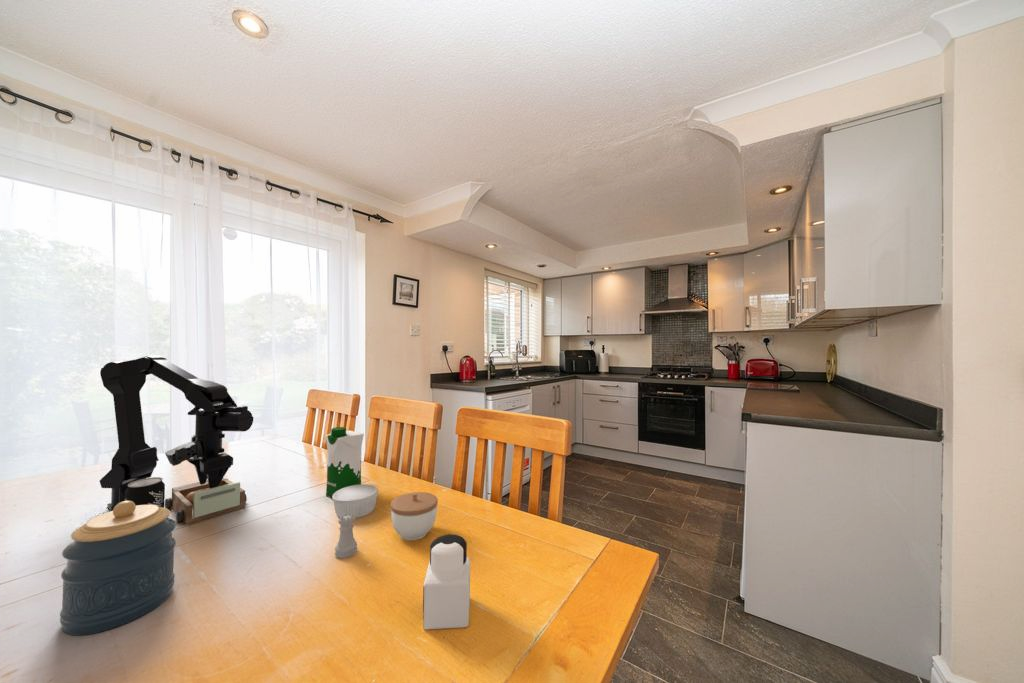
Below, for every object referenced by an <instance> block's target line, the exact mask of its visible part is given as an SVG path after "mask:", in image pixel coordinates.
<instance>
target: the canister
mask: <svg viewBox="0 0 1024 683" xmlns="http://www.w3.org/2000/svg"><path fill="white" fill-rule="evenodd" d="M170 515H171V511H170V509H169V508H168V509H166V508H165V507H164V508H162V507H159V506H157V505H137V506H135V503H134V502H133V501H123V502H120V503H118V504H117V505H116V506H115V507H114V509H113V511H110V510H109V511H107V512H104V513H101V514H99V515H97V516H95V517H93V518H90V519H89V520H87V521H86V523H84V524H83V525H81V526H79V527H78V528H76V529H75V530H74V531H72V532H71V540H73V541H72V542H70V543H69V544H68V545H67V546H65V547H64V549H63V550H62V552H61V555H62V557H63V558H64V559H65V560H67V562H66V566H65V567H64V568H63V570H62V572H61V573H60V574H61V576H60V578H61V579H62V598H61V599H62V604H61V605H62V606H61V607H62V608H61V610H60V613H59V616H60V618H59V622H60V624H61V627H62V628H61V629H62V631H63V633H66V634H69V635H73V636H75V635H76V636H78V635H79V636H81V635H82V636H83V635H90V634H91V635H92V634H95V633H96V634H97V633H100V632H105V631H107V630H110V629H114V628H117V627H120V626H122V625H125V624H127V623H130V622H132V621H134V620H136V619H138V618H141V617H142V616H144V615H146V614H148V613H149V612H151V611H153V610H154V609H156V608H158V607H159V606H160V605H161V604H162V603H163V602H165V601H166V600H167V599H168V598H169V596H170V595H171V593H172V592H173V586H174V585H175V576H176V575H175V573H174V570H175V569H174V565H175V564H174V563H175V561H174V560H175V546H176V540H175V538H174V537H173V534H172V533H173V531H174V529H175V528H176V527H177V521H175V520H174V519H172V518H169V517H170Z"/></svg>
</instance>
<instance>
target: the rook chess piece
mask: <svg viewBox="0 0 1024 683" xmlns="http://www.w3.org/2000/svg"><path fill="white" fill-rule="evenodd" d="M355 520H356V518H354V517H353V514H351V513H349V515H347V513H345V514H344V516H343V515H341V517H339V520H338V521H337V523H338V524H339V525H340V527H339V528H338V529H339V532H340V533H339V538H338V541H337V543H336V545H335V548H334V550H335V551H334V556H335V557H336V558H338V559H341V560H342V559H347V558H351V557H352V556H354V555H355V554H356V553H357V551H358V547H357V546H358V542H357V541H356V538H354V531H353V530H354V526H355V525H353V523H354V521H355Z"/></svg>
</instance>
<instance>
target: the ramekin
mask: <svg viewBox="0 0 1024 683" xmlns="http://www.w3.org/2000/svg"><path fill="white" fill-rule="evenodd" d="M378 494H379V488H378V487H377V486H375V485H373V484H367V483H364V484H362V483H361V484H360V485H353V486H348V487H345V488H342V489H340V490H338V491H336V492H335V493H334V494H333V496H332V498H331V499H332V502H333V505H334V511H335V514H336V516H337V517H339V518H340V517H341V515H343V516H344V514H345V513H347V515H349V513H351V514H353V517H354V518H355V519H358V518H361V517H365V516H367V515H369V514H371V513H372V511H373V510H374V509H375V507H376V502H377V496H378Z"/></svg>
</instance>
